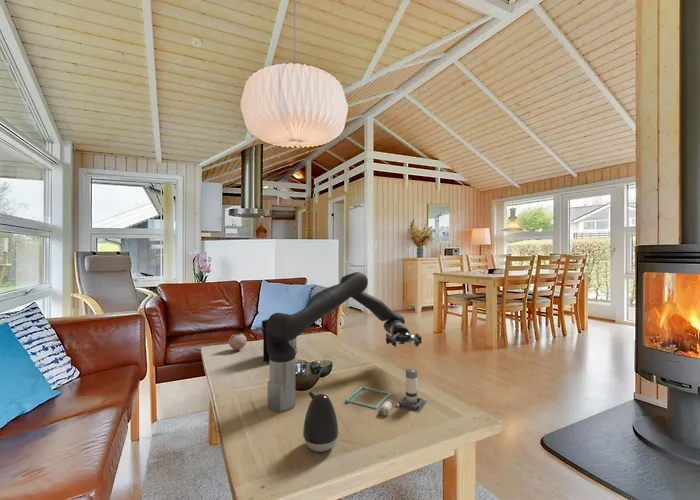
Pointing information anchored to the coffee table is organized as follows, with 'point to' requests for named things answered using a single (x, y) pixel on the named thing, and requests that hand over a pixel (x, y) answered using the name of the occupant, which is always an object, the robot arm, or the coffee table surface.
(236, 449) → the coffee table surface
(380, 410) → the cylinder
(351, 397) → the teal square frame
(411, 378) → the fuse
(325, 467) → the coffee table surface
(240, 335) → the decorative fruit
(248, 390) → the coffee table surface
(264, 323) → the electrical component
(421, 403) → the holder block
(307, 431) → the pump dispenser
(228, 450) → the coffee table surface
